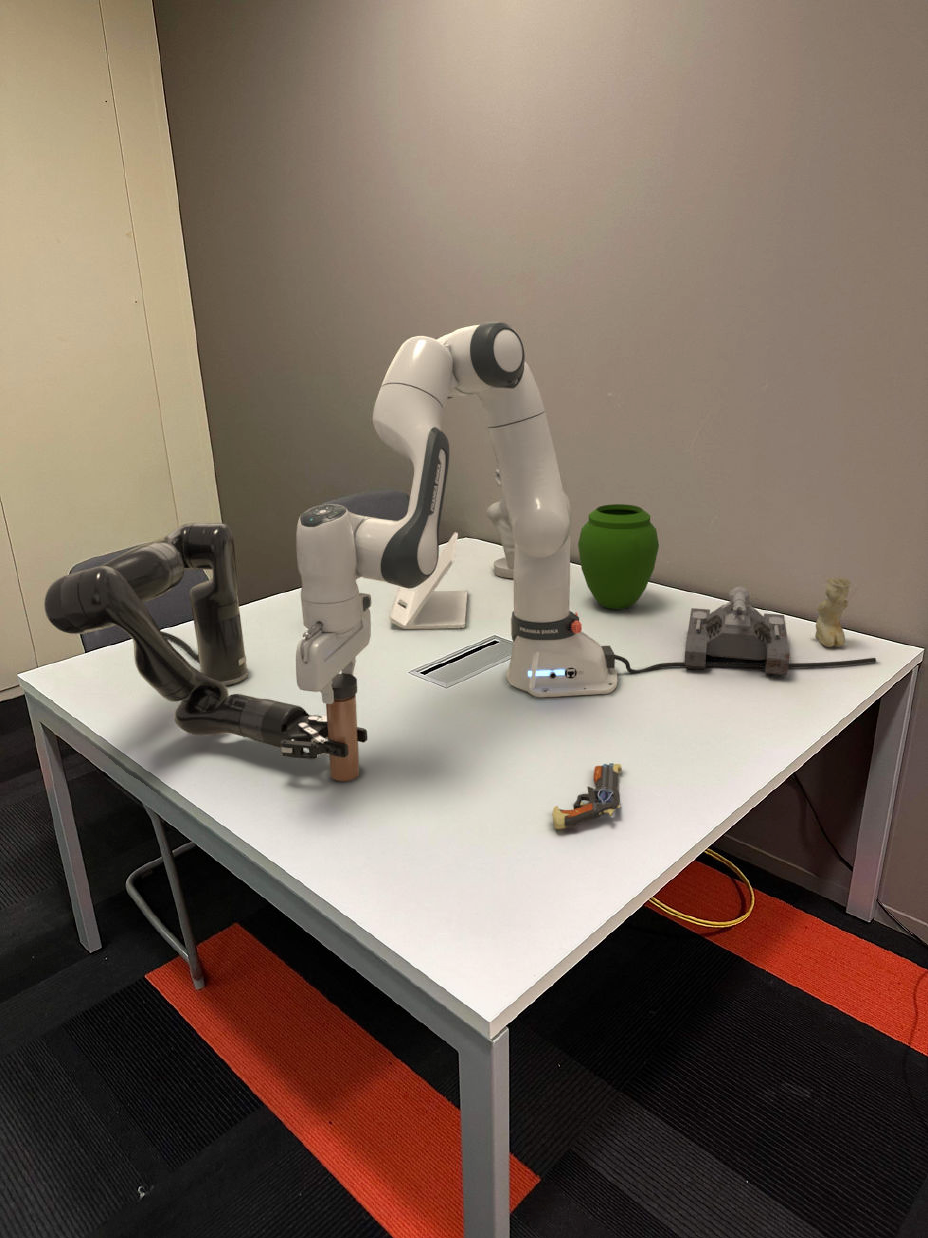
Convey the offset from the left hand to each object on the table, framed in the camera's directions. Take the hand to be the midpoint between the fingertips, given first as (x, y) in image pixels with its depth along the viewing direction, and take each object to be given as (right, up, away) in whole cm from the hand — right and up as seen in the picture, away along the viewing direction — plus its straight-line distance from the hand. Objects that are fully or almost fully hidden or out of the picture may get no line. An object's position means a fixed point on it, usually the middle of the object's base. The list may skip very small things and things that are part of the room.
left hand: (356, 743), depth 138 cm
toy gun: (+37, -8, -6) cm, 38 cm away
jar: (-2, -6, +3) cm, 7 cm away
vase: (+56, +24, +76) cm, 97 cm away
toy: (+76, +13, +46) cm, 89 cm away
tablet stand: (+9, +22, +76) cm, 80 cm away
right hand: (-3, +8, -2) cm, 9 cm away
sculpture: (+97, +15, +49) cm, 110 cm away
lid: (-2, +10, -3) cm, 11 cm away
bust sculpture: (+35, +32, +101) cm, 111 cm away
